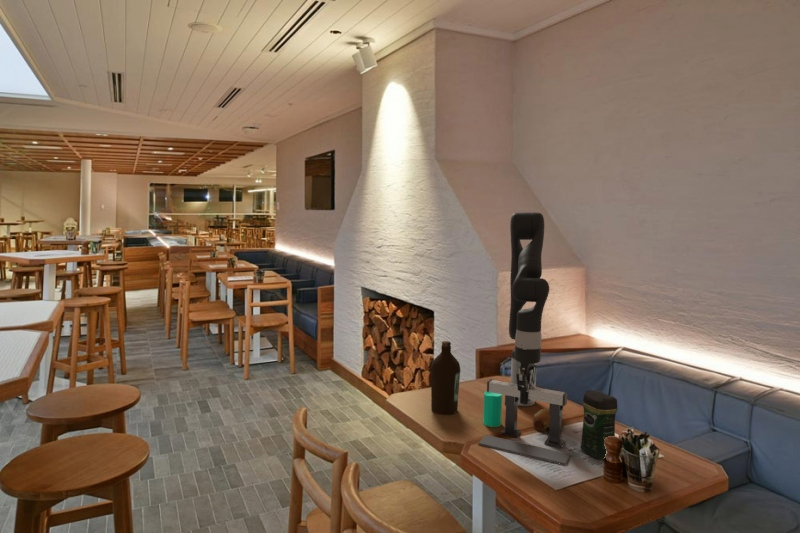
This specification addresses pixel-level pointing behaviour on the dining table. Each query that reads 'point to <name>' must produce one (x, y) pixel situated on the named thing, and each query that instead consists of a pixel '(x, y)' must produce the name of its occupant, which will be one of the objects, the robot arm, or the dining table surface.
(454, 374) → the olive oil
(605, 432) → the coffee jar
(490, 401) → the candle
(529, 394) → the rail
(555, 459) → the mat
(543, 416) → the bread roll
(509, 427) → the post pair
